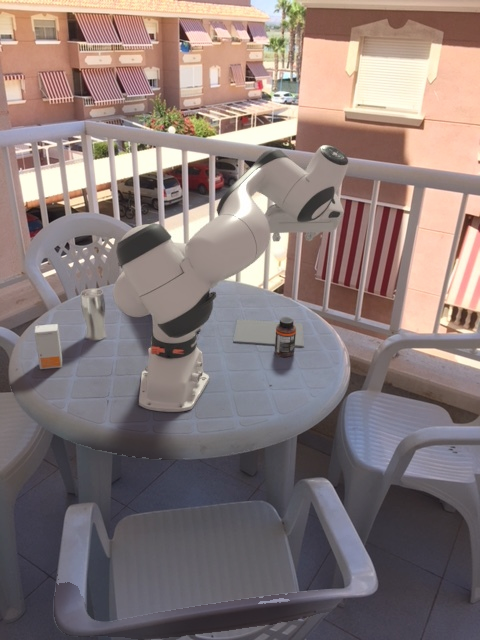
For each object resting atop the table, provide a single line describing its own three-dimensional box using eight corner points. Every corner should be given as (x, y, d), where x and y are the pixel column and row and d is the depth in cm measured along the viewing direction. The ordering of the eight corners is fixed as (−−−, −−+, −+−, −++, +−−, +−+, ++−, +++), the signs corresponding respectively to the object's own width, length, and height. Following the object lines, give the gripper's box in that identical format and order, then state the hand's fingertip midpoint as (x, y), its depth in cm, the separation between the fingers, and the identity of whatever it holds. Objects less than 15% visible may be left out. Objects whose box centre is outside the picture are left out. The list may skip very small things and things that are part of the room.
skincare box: (39, 370, 145) (33, 332, 139) (40, 362, 148) (34, 325, 143) (62, 367, 146) (57, 330, 141) (63, 359, 150) (57, 323, 144)
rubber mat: (303, 347, 161) (303, 345, 161) (233, 342, 162) (233, 340, 162) (302, 324, 174) (302, 323, 174) (237, 320, 175) (237, 319, 175)
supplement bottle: (277, 346, 161) (280, 313, 156) (296, 350, 159) (299, 317, 154) (271, 355, 156) (274, 321, 151) (290, 359, 154) (293, 325, 149)
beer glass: (106, 329, 167) (102, 287, 160) (108, 340, 161) (104, 296, 154) (84, 332, 165) (79, 289, 158) (85, 342, 159) (80, 298, 152)
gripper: (273, 213, 122) (257, 249, 133) (350, 213, 128) (328, 247, 140) (267, 193, 125) (252, 230, 136) (342, 194, 131) (322, 229, 143)
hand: (291, 239), depth 138 cm, fingers open, 8 cm apart
